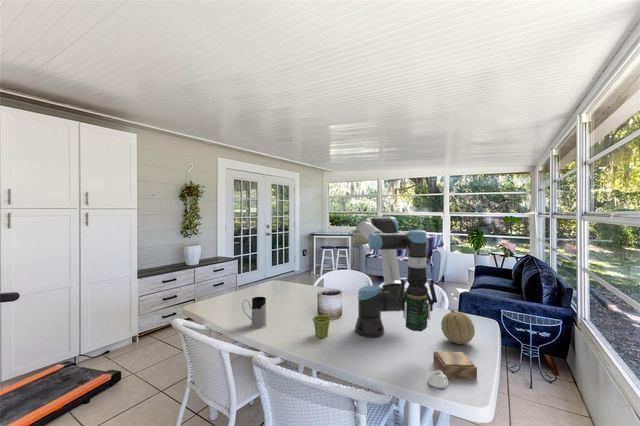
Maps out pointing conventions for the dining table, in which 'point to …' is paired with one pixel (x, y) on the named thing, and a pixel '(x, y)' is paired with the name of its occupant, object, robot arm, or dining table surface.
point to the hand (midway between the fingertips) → (416, 318)
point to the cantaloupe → (457, 327)
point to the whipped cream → (438, 379)
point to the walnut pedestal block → (455, 365)
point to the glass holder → (258, 312)
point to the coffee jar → (416, 308)
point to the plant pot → (321, 325)
